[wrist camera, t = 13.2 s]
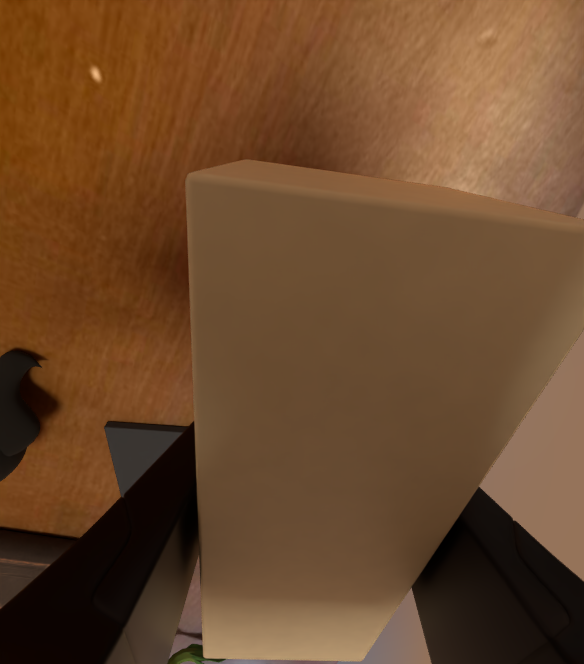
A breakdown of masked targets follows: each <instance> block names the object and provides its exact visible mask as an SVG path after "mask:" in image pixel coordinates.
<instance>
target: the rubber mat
mask: <svg viewBox="0 0 584 664" xmlns="http://www.w3.org/2000/svg"><path fill="white" fill-rule="evenodd" d="M187 428H188V427H177V426H164V425H150V424H136V423H122V422H107V424H106V425H105V427H104V429H105V433H106V437H107V441H108V445H109V449H110V453H111V457H112V461H113V465H114V469H115V473H116V477H117V481H118V485H119V489H120V493H121V497H124V496H123V495H124V493H125V492H126V491H127V490H128V489H129V488H130V487H131V486H132V485H133V484H134V483H135V482H136V481H137V480H138V479H139V478H140V477H141V476H142V475H143V474H144V473H145V471H146V470H147V469H148V468H149V467H150V466H151V465H152V464H153V463H154V462H155V461H156V460H157V459H158V458H159V457H160V456H161V455H162V454H163V453H164V452H165V451H166V450H167V449H168V447H169V446H170V445H171V444H172V443H173V442H174V441H175V440H176V439H177V438H178V437H179V436H180V435H181V434H182V433H183V432H184V431H185V430H186V429H187Z"/></svg>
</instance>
